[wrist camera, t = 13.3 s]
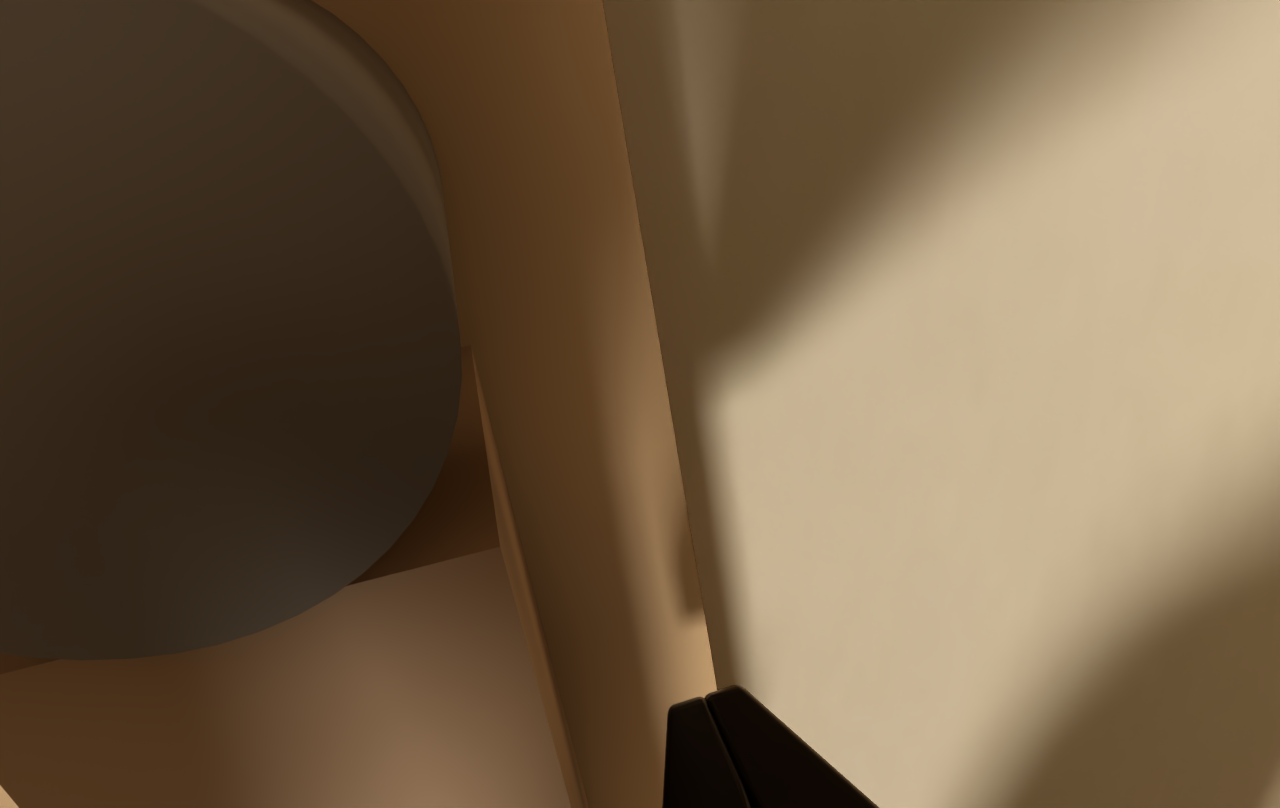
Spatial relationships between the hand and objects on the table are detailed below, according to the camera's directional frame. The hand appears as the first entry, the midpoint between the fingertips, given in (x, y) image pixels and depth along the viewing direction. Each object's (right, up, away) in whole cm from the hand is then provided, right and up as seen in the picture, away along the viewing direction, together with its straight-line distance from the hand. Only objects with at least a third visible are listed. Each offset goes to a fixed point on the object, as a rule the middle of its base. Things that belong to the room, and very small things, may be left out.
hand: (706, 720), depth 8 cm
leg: (-3, 0, 0) cm, 3 cm away
